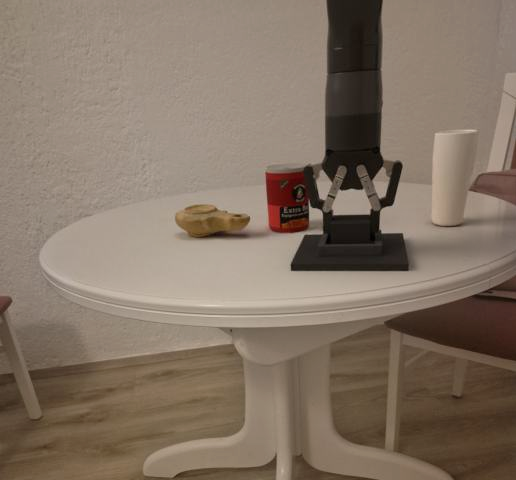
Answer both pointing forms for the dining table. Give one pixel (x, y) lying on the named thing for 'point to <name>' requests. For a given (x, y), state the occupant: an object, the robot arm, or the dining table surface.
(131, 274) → the dining table surface
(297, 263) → the base pad
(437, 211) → the drinking glass
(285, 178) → the canned food
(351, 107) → the robot arm
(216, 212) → the oil lamp
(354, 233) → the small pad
